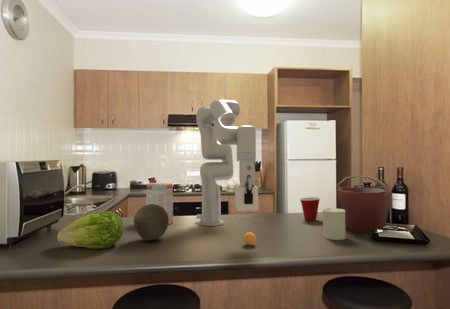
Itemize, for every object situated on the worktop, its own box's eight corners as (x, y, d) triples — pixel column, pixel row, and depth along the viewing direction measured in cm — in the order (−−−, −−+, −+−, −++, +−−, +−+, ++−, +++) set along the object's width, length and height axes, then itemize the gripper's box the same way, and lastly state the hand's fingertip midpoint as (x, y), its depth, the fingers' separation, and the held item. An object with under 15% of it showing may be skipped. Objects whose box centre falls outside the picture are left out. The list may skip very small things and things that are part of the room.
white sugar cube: (238, 210, 115) (238, 187, 115) (235, 207, 123) (235, 185, 123) (258, 210, 116) (258, 187, 116) (254, 206, 124) (253, 185, 124)
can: (329, 233, 137) (328, 206, 137) (349, 236, 130) (349, 208, 130) (318, 237, 130) (318, 208, 130) (339, 241, 124) (339, 211, 124)
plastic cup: (304, 217, 171) (303, 195, 171) (323, 219, 165) (323, 197, 165) (296, 220, 162) (296, 198, 162) (316, 223, 156) (316, 199, 156)
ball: (260, 242, 119) (250, 250, 119) (254, 233, 123) (244, 241, 123) (254, 235, 116) (244, 243, 116) (249, 227, 120) (239, 235, 120)
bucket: (326, 225, 150) (326, 175, 150) (361, 222, 158) (361, 173, 158) (366, 238, 127) (365, 178, 127) (404, 233, 135) (403, 176, 135)
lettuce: (69, 224, 129) (50, 213, 116) (127, 215, 130) (114, 203, 117) (65, 259, 122) (45, 251, 109) (127, 249, 123) (113, 240, 110)
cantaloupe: (132, 238, 130) (131, 203, 130) (165, 234, 136) (164, 201, 136) (136, 247, 117) (135, 208, 117) (172, 243, 123) (172, 205, 123)
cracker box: (173, 223, 158) (173, 183, 158) (165, 225, 153) (165, 184, 153) (154, 220, 166) (153, 182, 166) (145, 222, 161) (145, 183, 161)
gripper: (260, 157, 111) (261, 205, 111) (251, 157, 128) (251, 198, 128) (240, 157, 110) (240, 206, 110) (233, 157, 128) (234, 199, 128)
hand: (246, 202), depth 119 cm, fingers closed on white sugar cube, 7 cm apart
